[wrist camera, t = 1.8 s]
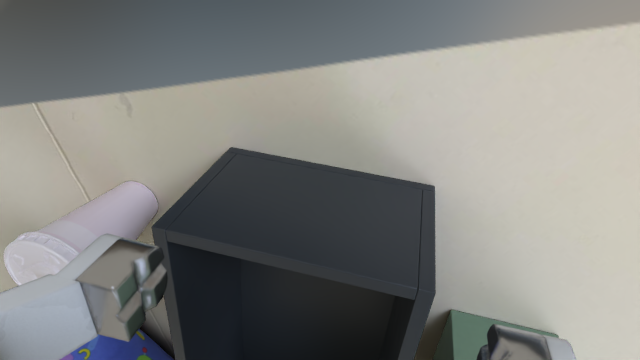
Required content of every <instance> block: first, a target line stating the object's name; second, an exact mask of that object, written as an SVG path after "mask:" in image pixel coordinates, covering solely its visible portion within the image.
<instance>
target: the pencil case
mask: <svg viewBox="0 0 640 360" xmlns="http://www.w3.org/2000/svg"><path fill="white" fill-rule="evenodd" d="M97 335H98V336H97V337H96V338H94V339H92V340H91V341H89V342H87V343H86V344H84V345H83V346H81V347H79V348H78V349H76V350H74V351H73V352H71V353H70V354H68V355H66V356H65V357H63V358H61V359H60V360H174V359H173V358H172V357H170V356H169V355H168V354H167V353H166V352H165V351H164V350H163V349H161V348H160V347H159V346H158V345H157V344H156V343H155V342H154V341H153V340H152V339H151V338H150V337H149V336H148V335H146V334H145V333H144V332H143V331H141V330H140V329H139V330H138V331H137V332H136V333H135V335H134V336H133V337H132V339H131V340H130V341H129V342H127V341H123V340H119V339H115V338H111V337H107V336H103V335H99V334H97Z"/></svg>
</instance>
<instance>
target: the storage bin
mask: <svg viewBox="0 0 640 360" xmlns="http://www.w3.org/2000/svg"><path fill="white" fill-rule="evenodd" d="M152 233H153V238H154V244H155V246H158V247H161V248H162V249H163V254H164V259H163V260H162V262H161V265H162V266H163V267H164V268H165V269H166V270H167V275H168V282H167V288H166V290H165V293H164V299H165V305H166V310H167V316H168V321H169V327H170V332H171V338H172V343H173V349H174V354H175V360H414V357H415V354H416V351H417V348H418V345H419V342H420V339H421V336H422V333H423V330H424V327H425V323H426V320H427V317H428V314H429V311H430V308H431V305H432V302H433V299H434V296H435V293H436V290H435V187H434V186H432V185H427V184H421V183H416V182H411V181H406V180H400V179H395V178H390V177H385V176H379V175H374V174H369V173H364V172H358V171H353V170H348V169H343V168H337V167H332V166H327V165H322V164H316V163H311V162H306V161H301V160H296V159H290V158H285V157H280V156H275V155H269V154H264V153H259V152H254V151H248V150H243V149H238V148H233V147H231V148H230V149H229V150H228V151H227V152H225V153H224V154H223V155H222V156H221V157H220V158H219V159H218V160H217V161H216V163H215V164H214V165H213V166H212V167H211V168H210V169H209V170H208V171H207V172H206V173H205V174H204V175H203V176H202V177H201V178H200V179H199V180H198V181H197V182H196V183H195V184H194V185H193V186H192V187H191V188H190V189H189V190H188V191H187V192H186V193H185V194H184V195H183V196H182V197H181V198H180V199H179V200H178V201H177V202H176V203H175V204H174V205H173V206H172V207H171V208H170V209H169V210H168V211H167V212H166V213H165V214H164V215H163V216H162V217H161V218H160V219H159V220H158V221H157V222H156V223H155V224H154V225H153V226H152Z"/></svg>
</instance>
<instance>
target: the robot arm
mask: <svg viewBox="0 0 640 360" xmlns="http://www.w3.org/2000/svg"><path fill="white" fill-rule="evenodd" d="M163 259H164V254H163V249H162V248H161V247H158V246H155V245H151V244H147V243H144V242H140V241H136V240H132V239H128V238H123V237H119V236H116V235H112V234H108V233H107V234H104V235H101V236H99V237H98V238H97V239H96V240H95V241H94V242H92V243H91V244H90V245H89V246H88V247H87V248H86V249H84V250H83V251H82V252H81V253H80V254H79V255H78V256H76V257H75V258H74V259H73V260H72V261H71V262H70V263H68V264H67V265H66V266H65V267H64V268H63V269H62V270H60V271H59V272H58V273H57V274H56V275H51V274H48V275H46V276H43V277H41V278H38V279H35V280H33V281H30V282H27V283H25V284H22V285H19V286H17V287H14V288H12V289H9V290H6V291H4V292H1V293H0V360H60V359H61V358H63V357H65V356H66V355H68V354H70V353H71V352H73V351H74V350H76V349H78V348H79V347H81V346H83V345H84V344H86V343H87V342H89V341H91V340H92V339H94V338H96V337H97V336H98V335H97V334H99V335H103V336H107V337H111V338H115V339H119V340H123V341H127V342H129V341H130V340H131V339H132V337H133V336H134V335H135V333H136V332H137V331H138V330H139V328H140V327H141V326H142V324H143V323H144V322H145V320H146V317H145V312H146V311H148V310H150V309H152V308H154V307H156V306H157V304H158V303H159V302H160V300H161V299H162V298H163V295H164V293H165V290H166V288H167V282H168V275H167V270H166V269H165V268H164V267H163V266H162V265H161V262H162V260H163ZM487 341H488V344H486V345H484V346H482V347H481V348H480V351H479V353H478V356H477V360H576V358H575V355H574V352H573V349H572V346H571V344H570V343H569V342H568V341H567V340H564V339H560V338H556V337H551V336H547V335H540V334H538V333H534V332H529V331H525V330H520V329H516V328H511V327H507V326H502V325H498V324H493V325H492V326H491V327H490V328H489V330H488V332H487Z"/></svg>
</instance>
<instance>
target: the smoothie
mask: <svg viewBox="0 0 640 360" xmlns="http://www.w3.org/2000/svg"><path fill="white" fill-rule="evenodd" d="M157 211H158V202H157V199H156V197H155V196H154V194H153V193H152V192H151V191H150V190H149V189H148V188H147V187H146V186H144V185H143V184H141V183H138V182H135V181H127V182H124V183H122V184H120V185H119V186H117V187H115V188H113V189H111V190H110V191H108V192H106V193H104V194H102V195H101V196H99V197H97V198H95V199H93V200H92V201H90V202H88V203H86V204H84V205H83V206H81V207H79V208H77V209H76V210H74V211H72V212H70V213H68V214H67V215H65V216H63V217H61V218H59V219H58V220H56V221H54V222H52V223H50V224H48V225H47V226H45V227H43V228H41V229H40V230H38V231H36V232H26V233H23V234H21V235H19V236H18V237H17V238H16V239H15V240H14V241H13V242H11V243H10V244H8V245H7V246H6V248H5V250H4V263H5V266H6V269H7V271H8V273H9V275H10V276H11V277H12V279H13V280H14V282H15V283H16V284H17V285H18V286H19V285H22V284H25V283H27V282H30V281H33V280H35V279H38V278H41V277H43V276H46V275H48V274H51V275H56V274H57V273H58V272H59V271H60V270H62V269H63V268H64V267H65V266H66V265H67V264H68V263H70V262H71V261H72V260H73V259H74V258H75V257H76V256H78V255H79V254H80V253H81V252H82V251H83V250H84V249H86V248H87V247H88V246H89V245H90V244H91V243H92V242H94V241H95V240H96V239H97V238H98V237H99V236H101V235H104V234H107V233H108V234H112V235H116V236H119V237H123V238H128V239H132V240H136V239H137V238H138V237H139V235H140V234H141V233H142V231H143V230H144V229H145V227H146V226H147V225H148V224H149V222H150V221H151V220H152V218H153V217H154V216H155V214H156V213H157Z"/></svg>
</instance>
